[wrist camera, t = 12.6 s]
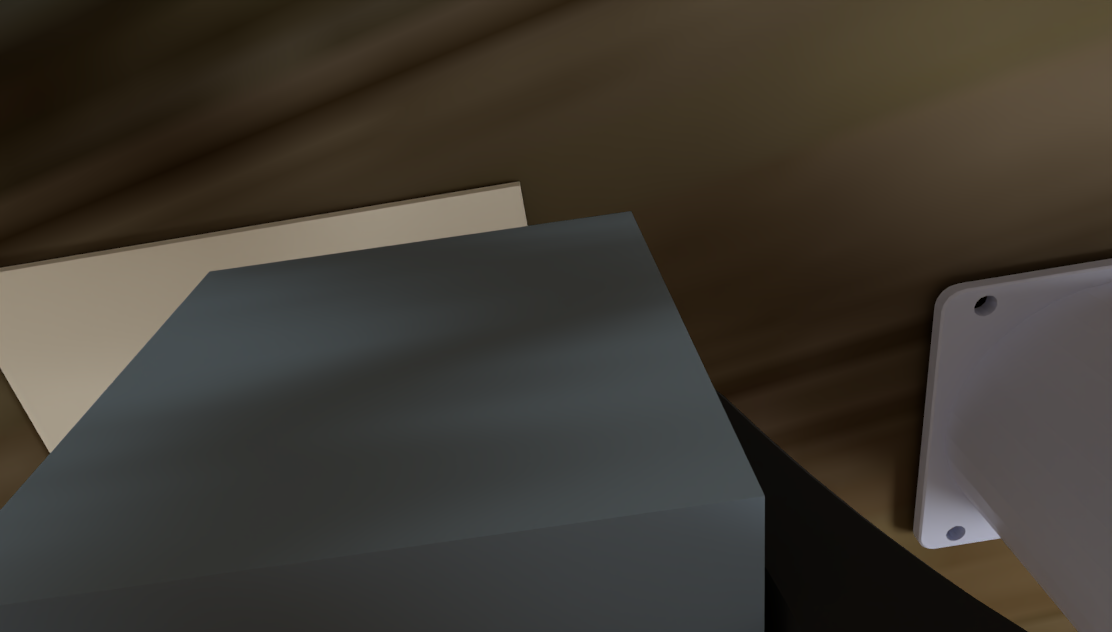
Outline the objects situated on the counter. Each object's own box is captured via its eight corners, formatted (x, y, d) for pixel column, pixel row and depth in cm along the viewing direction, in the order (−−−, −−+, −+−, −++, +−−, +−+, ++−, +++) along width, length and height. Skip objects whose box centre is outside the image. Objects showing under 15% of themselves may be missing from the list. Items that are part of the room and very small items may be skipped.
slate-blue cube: (631, 211, 9) (764, 496, 4) (657, 529, 11) (763, 930, 7) (209, 271, 9) (-96, 619, 4) (323, 577, 11) (203, 1010, 7)
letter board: (519, 181, 16) (519, 186, 15) (608, 679, 23) (610, 689, 23) (-42, 274, 16) (-52, 281, 15) (226, 740, 23) (222, 750, 23)
